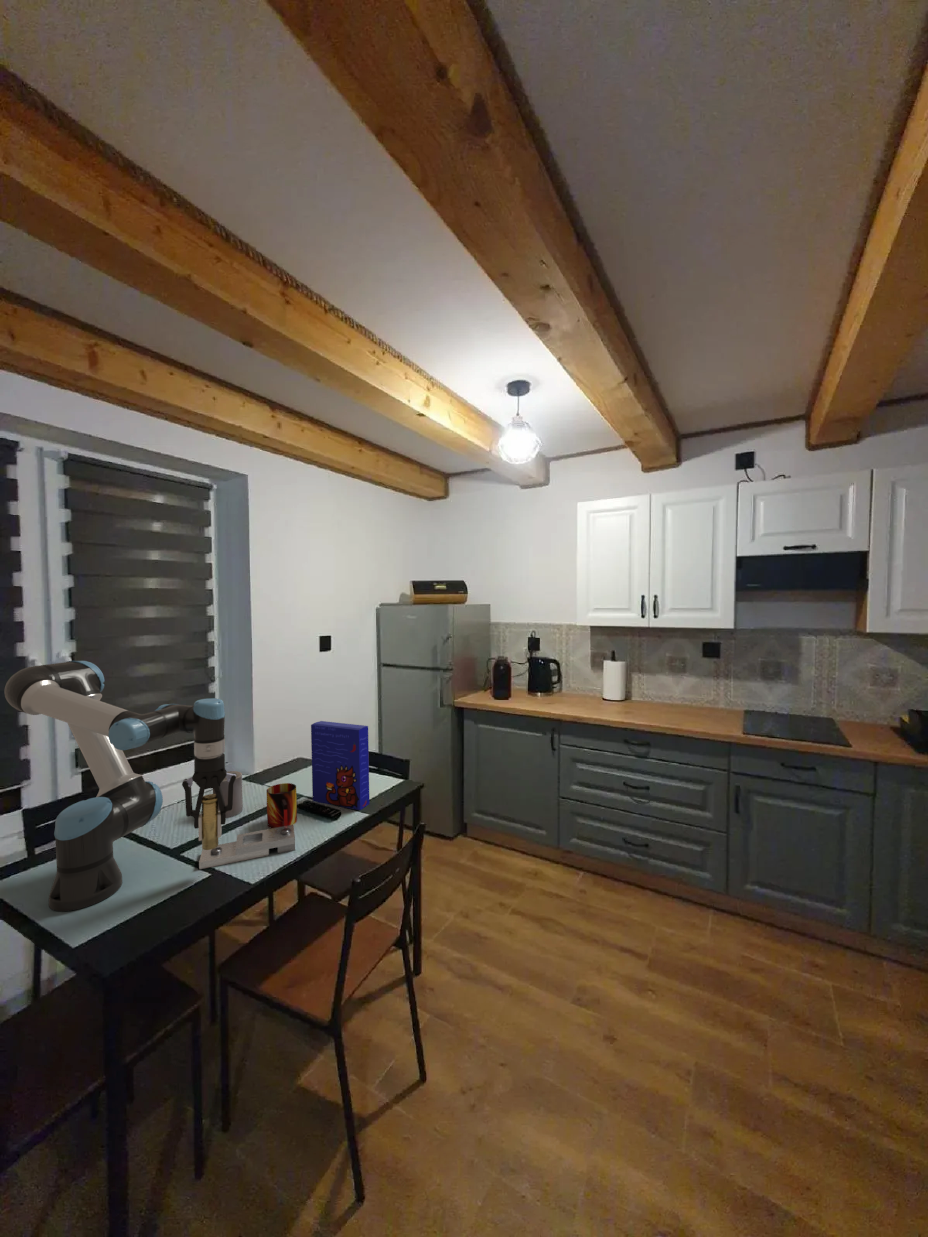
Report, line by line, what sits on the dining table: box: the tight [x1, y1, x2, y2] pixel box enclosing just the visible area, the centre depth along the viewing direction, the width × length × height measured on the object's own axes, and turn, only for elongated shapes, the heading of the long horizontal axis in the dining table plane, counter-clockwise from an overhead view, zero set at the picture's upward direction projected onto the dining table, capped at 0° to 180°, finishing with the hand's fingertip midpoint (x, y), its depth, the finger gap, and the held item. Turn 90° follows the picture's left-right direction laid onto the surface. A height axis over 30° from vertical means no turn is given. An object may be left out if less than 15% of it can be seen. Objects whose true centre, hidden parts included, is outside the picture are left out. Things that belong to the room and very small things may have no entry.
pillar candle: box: [212, 770, 244, 819], centre depth 171 cm, size 10×10×15 cm
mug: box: [266, 782, 298, 829], centre depth 162 cm, size 10×14×12 cm
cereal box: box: [310, 720, 371, 811], centre depth 178 cm, size 22×6×30 cm, turn 68°
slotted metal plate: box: [198, 825, 296, 870], centre depth 144 cm, size 26×9×5 cm, turn 113°
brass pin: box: [201, 793, 219, 850], centre depth 132 cm, size 5×5×14 cm
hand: (210, 836), depth 132 cm, fingers closed on brass pin, 4 cm apart
